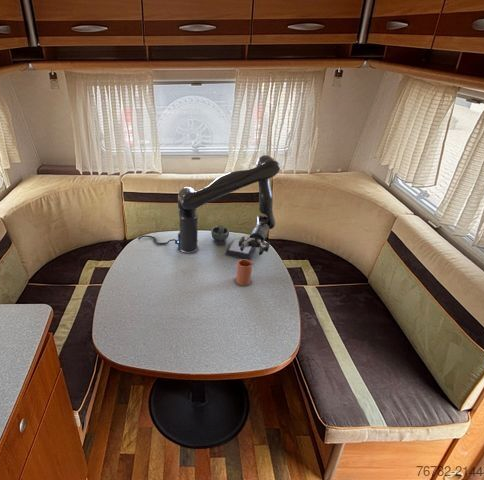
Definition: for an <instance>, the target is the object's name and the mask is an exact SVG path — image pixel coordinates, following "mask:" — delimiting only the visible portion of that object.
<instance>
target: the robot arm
mask: <svg viewBox="0 0 484 480" xmlns="http://www.w3.org/2000/svg"><path fill="white" fill-rule="evenodd" d="M280 170H281V164H280V162H279V161H278V160H277V159H275V158H273V157H272V156H270V155H268V154H263V155H261V156H260V157H259V158H257V160H256V166H255V167H254V168H249V169H242V170H241V169H240V170H234V171H231V172H228V173H225V174H223V175H221V176H218V177H217V178H216V179H215V180H213V181H212V182H211V183H210V184H209V185H208V186H205V187H204V188H202V189H199V190H195V189H194V188H192V187H189V186H185V187H183V188H182V189H180V190H179V191H178V195H177V211H178V212H177V213H178V217H179V218H178V219H179V232H178V233H177V237H176V238H171V239H169V240H167V241H166V242H158V241H157V238H156V237H155V236H152V235H146V234H145V235H140V236H139V237H138V238H137V239H139V240H140V239H142V238H151V239H154V243H155V244H157V245H167V244H169V243H170V242H174V244H175V245H177V250H178V251H180V252H181V253H184V254H194V253H195V252H197V251H198V243H199V239H198V233H199V232H198V229H199V228H198V226H199V225H198V224H199V223H198V221H199V220H198V219H199V215H198V211H197V209H198V208H200V207H202V206H203V205H206V204H207V203H209V202H212V201H214V200H217V199H219V198H220V197H223V196H225V195H229V194H231V193H233V192H236V191H238V190H240V189H242V188H246V187H248V186H250V185H253V184H255V183H258V211H259V213H260V214H259V215H257V216H256V217H255V220H254V221H255V227H254V228H253V229H252V231H251V232H250V234H249V237H248V238H245V236H242V237H240V239H239V240H238V241H239V247H240V250H241V251H243V250H244V248H245V247H255V248H254V249H258V255H259V256H261V255H263V253H264V252H265V253H268V252H269V248H270V245H271V244H270V243H271V241H269V240H267V242H265V241H266V239H267V236H268V233H269V230H273V229H274V228H275V226H276V218H275V214H274V210H273V207H274V206H273V205H274V196H273V195H274V194H273V191H272V190H273V189H272V185H271V179H272V178H274V177H275V176H277V175H278V173H279V172H280ZM248 244H249V245H248Z"/></svg>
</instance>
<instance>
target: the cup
mask: <svg viewBox="0 0 484 480" xmlns="http://www.w3.org/2000/svg"><path fill="white" fill-rule="evenodd" d="M252 271H253V262H252V261H251V260H250V259H249V260H248V259H244V258H240V259H239V260H238V261H237V263H236V275H235V276H236V277H235V282H236V284H238V285H239V286H243V287H244V286H245V287H246V286H248V285H250V284H251V279H252Z"/></svg>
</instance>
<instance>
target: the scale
mask: <svg viewBox="0 0 484 480" xmlns="http://www.w3.org/2000/svg"><path fill="white" fill-rule="evenodd" d="M239 241H240V240H235V239H232V240H231V242H230V244H229V245H228V247H227V249H226V251H225V255H226V256H228V257H229V256H230V257H235V258H238V259H239V258H240V259H246V260H250V259H251V256H252V254H253V253H254V250H255V249H256V248H255V247H245V248H244V250H243V251H241V250H240V247H239ZM248 245H249V244H248Z"/></svg>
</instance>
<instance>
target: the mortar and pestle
mask: <svg viewBox="0 0 484 480" xmlns="http://www.w3.org/2000/svg"><path fill="white" fill-rule="evenodd" d="M210 234H211V237H212V239H213V243H214V244H216V245H224V244H225V243H226V240H227V239H228V238H229V236H230V229H229V228H227V227H225V226H224V225H219V226H213V227H212V228H211V229H210Z"/></svg>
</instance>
